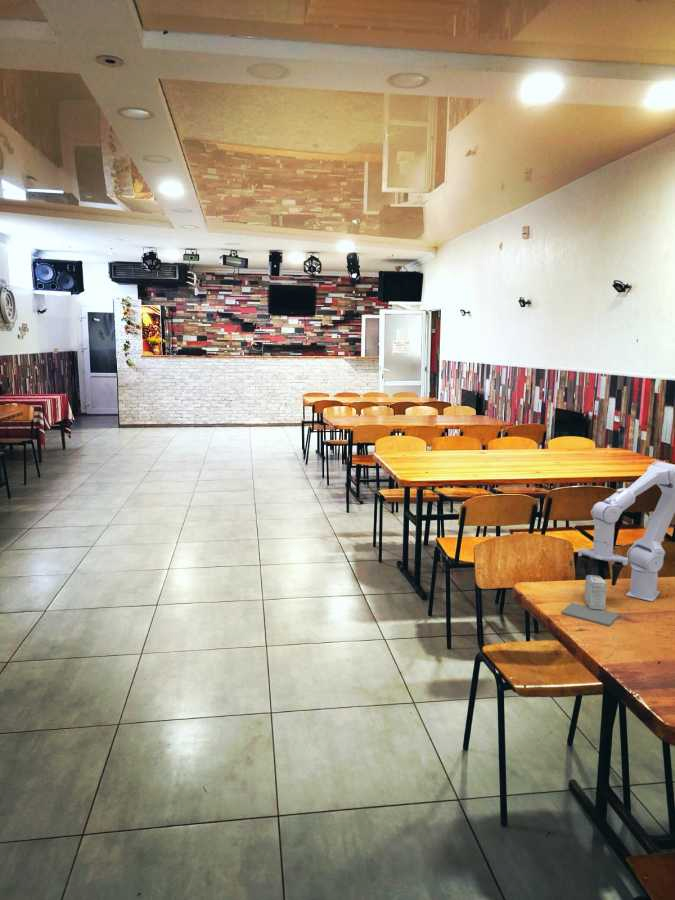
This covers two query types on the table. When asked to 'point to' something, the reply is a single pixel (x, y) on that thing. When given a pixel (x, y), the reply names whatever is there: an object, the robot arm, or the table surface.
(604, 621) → the mat
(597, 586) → the medicine box
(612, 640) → the table surface
